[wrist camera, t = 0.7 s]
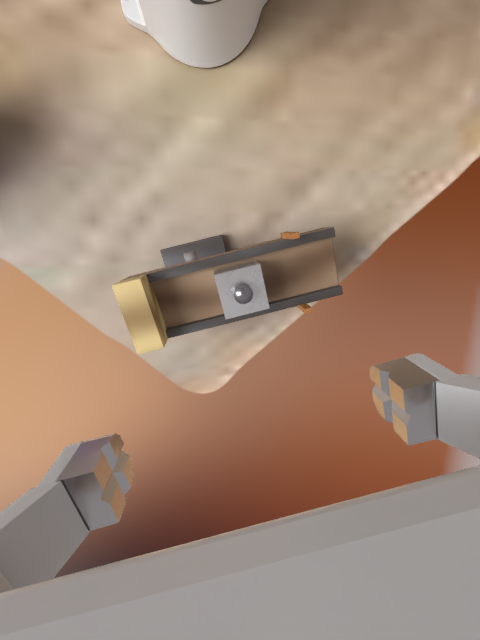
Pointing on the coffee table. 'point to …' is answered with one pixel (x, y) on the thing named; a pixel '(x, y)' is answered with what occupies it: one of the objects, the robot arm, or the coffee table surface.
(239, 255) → the grey gold rectangular frame
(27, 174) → the coffee table surface
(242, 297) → the rider
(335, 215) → the coffee table surface
